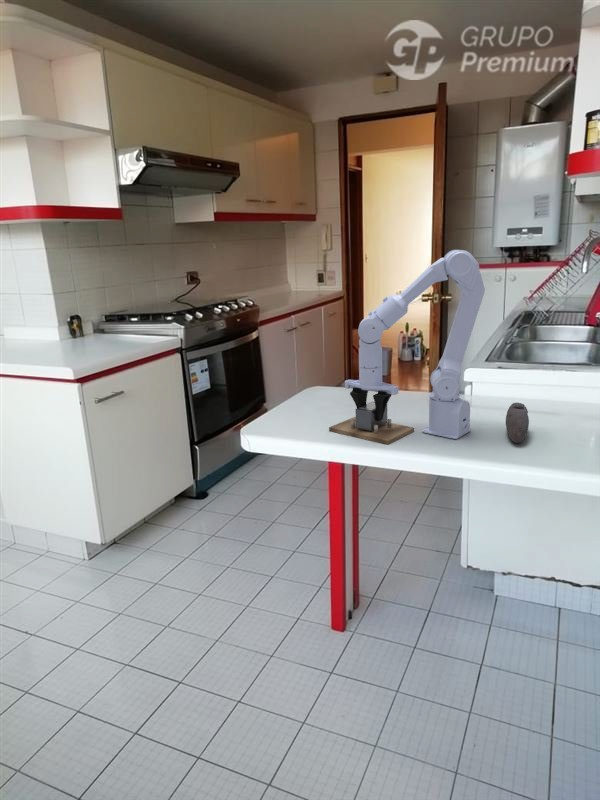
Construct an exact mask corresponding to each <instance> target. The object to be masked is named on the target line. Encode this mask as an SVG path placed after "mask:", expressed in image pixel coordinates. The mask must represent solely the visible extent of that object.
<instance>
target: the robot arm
mask: <svg viewBox="0 0 600 800" xmlns="http://www.w3.org/2000/svg"><path fill="white" fill-rule="evenodd" d="M480 270H481V269H480V264H479V262H478V260H476V258H475V257H474V256H473V254H471V252H469V251H467V250H463V249H452V250H450V251H448V252H447V253H446V254H445V255H444V257H440V258H438V259H437V260H436V261H434V262H433V263H432V264H430V266H428V267H427V268H426V269H425V270H424V271H423V272H422V273H421V274H420V275H419V276H418V277H417V278H416V279H414V280H413V281H412V282H411V283H410V284H409V285H408V286H407V287H406V288H404V290H403V291H402V292H401V293H400V294H391V295H390V296H388V295H387V296H385V297H383V299H382V303H381V304H379V305H378V306H377V307H376V308H375V309H374V310H373V311H372V310H370V311H369V312H368V313H367V315H368V317H367V316H366V317H365V318H363V319H362V320H361V321H360V322H359V325H358V329H357V334H358V337H359V340H358V345H359V347H358V372H359V373H358V374H359V376H358V379H346V380H344V389H351V390H352V391H350V393H349V395H350V397H351V398H352V400H353V402H354V404H355V407H356V409H357V408H359V407H361V406H363V405H366V404H367V402H368V401H367V400H368V393H369V392H374V393H375V392H376V393H375V394H373V395H372V397H373V402H375V407H376V420H377V421H380V420H382V419H383V415H384V411H385V408H386V405H387V406H388V403H389V400H390V399H391V397H392V396H396V395H398V394H399V385H394V384H390V383H386V382H383V347H382V345H381V344H382V336H383V334H384V333H383V332H384V331H388V330H390V328H392V326H394V325H395V324H396V323H397V322H399V320H400V319H402V318H403V317H405V315H406V314H407V313H408V308H409V304H411V303H412V302H413V301H414V300H415V299H417V298H419V296H420V295H421V294H423V293H425V291H427V290H428V289H429V288H430V287H431V286H432V285H433V284H435V283H439V282H444V281H447V280H449V277H450V278H451V279H452V280H453V281H454V282H455V284H456V286H457V287H458V289H459V291H460V292H461V296H460V297H459V302H458V305H457V309H456V312H455V314H454V317H453V322H452V324H451V327H450V331H449V334H448V338H447V340H446V344H445V347H444V350H443V354H442V356H441V358H440V359H439V361H438V364H437V367H436V368H435V369H434V370H433V371H432V372H431V374H430V378H429V380H430V385H431V387H432V392H431V393H429V400H428V401H429V402H428V404H429V405H428V406H429V410H428V411H429V412H428V427H425V428H424V429H422V430H421V432H422V433H425V434H429V435H435V436H439V437H444V438H449V439H454V440H458V439H459V438H461V437H462V436H464V435H466V434H467V433H469V432H471V431H472V429H471V428H470V425H471V424H470V422H471V421H470V420H471V405H470V402H469V401H468V400H465V399H462V398H461V397H460V394H459V392H460V390H461V385H460V384H461V383H460V377H461V374H462V367H463V366H462V363H463V360H464V356H465V354H466V351H467V348H468V345H469V343H470V339H471V335H472V334H473V333H472V332H473V329H474V326H475V324H476V319H477V316H478V313H479V311H480V309H481V304H482V301H483V298H484V295H485V290H486V287H485V284H484V280H483V277H482V274H481V271H480Z"/></svg>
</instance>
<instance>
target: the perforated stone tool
mask: <svg viewBox="0 0 600 800" xmlns="http://www.w3.org/2000/svg"><path fill="white" fill-rule="evenodd" d="M528 413H529V411H528V408H527V407H526V405H525V404H523V403H521V402H513V403H511V405H510V406H509V407H508V409H507V411H506V415H505V427H506V428H505V429H506V432H507V434H508V436H509V438H510V440H511V441H512V442H513V443H515V444H519V443H521V442H523V441H524V440H525V438H526V436H527V435H528V431H529V426H530V418H529V415H528Z"/></svg>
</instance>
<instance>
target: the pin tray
mask: <svg viewBox="0 0 600 800" xmlns="http://www.w3.org/2000/svg"><path fill="white" fill-rule="evenodd" d="M328 432H332V433H337V434H341V435H345V436H350V437H354V438H358V439H363V440H367V441H370V442H375V443H380V444H383V445H387V446H388V445H390V444H392V443H395V442H396V441H398V440H400V439H402V438H404V437H406V436H408V435H410V434H412V433H414V432H415V427H413V426H408V425H403V424H397V423H393V422H392V418H387V423H385V424H384V425H382V426H380V427H378V425H374V430H372V431H369V430H364V429H359V428H356V416H353V417H351V418H348V419H347V420H343V421H341V422H338V423H337V424H334V425H330V427H328Z"/></svg>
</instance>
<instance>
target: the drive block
mask: <svg viewBox="0 0 600 800" xmlns="http://www.w3.org/2000/svg"><path fill="white" fill-rule="evenodd" d="M355 417H356V428H359V429H364V430H369V431H372V430H374V425H378V427H380V426H382V425H384V424H385V423H387V419H388V404H387V405H386V408H385V411H384V415H383V419H382V420H380V421H377V420H376V407H375V401H370V402H367V403H366V405H363V406H361V407H359V408H357V407H356V408H355Z"/></svg>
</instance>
